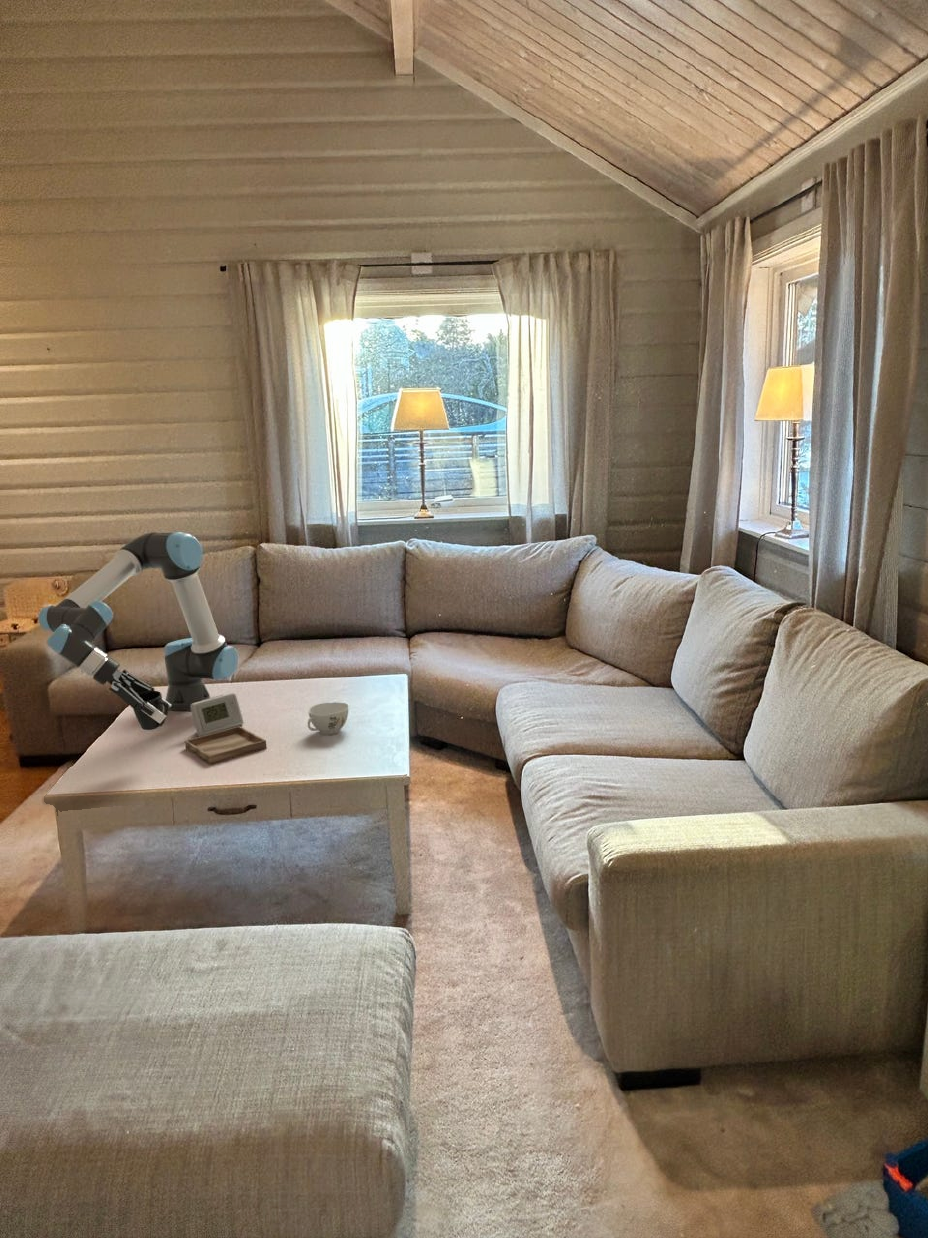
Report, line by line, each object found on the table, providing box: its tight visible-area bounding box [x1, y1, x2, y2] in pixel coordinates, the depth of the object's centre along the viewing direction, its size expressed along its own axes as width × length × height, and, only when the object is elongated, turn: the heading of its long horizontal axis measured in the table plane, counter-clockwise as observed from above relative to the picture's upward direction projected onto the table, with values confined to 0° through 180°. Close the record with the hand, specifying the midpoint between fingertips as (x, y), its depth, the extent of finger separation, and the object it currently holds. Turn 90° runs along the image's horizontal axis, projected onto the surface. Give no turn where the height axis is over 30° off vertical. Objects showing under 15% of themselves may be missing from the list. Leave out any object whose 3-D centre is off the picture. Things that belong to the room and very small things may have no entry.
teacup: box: [307, 701, 349, 736], centre depth 278 cm, size 15×12×8 cm
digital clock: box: [190, 692, 244, 737], centre depth 285 cm, size 16×9×11 cm, turn 121°
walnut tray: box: [184, 725, 267, 766], centre depth 269 cm, size 18×18×2 cm
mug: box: [132, 690, 170, 731], centre depth 256 cm, size 8×12×10 cm
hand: (165, 714), depth 257 cm, fingers closed on mug, 9 cm apart
